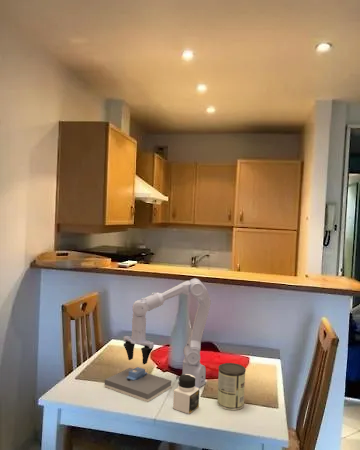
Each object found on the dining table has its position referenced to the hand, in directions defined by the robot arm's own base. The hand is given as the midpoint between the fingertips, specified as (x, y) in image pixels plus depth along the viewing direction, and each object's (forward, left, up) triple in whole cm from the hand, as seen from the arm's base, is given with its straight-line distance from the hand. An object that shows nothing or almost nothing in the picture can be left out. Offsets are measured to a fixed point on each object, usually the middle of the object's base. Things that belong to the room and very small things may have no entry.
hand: (137, 361), depth 173 cm
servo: (0, 0, -8) cm, 8 cm away
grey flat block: (-3, +3, -9) cm, 10 cm away
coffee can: (-40, -7, -9) cm, 42 cm away
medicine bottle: (-28, +6, -9) cm, 30 cm away
